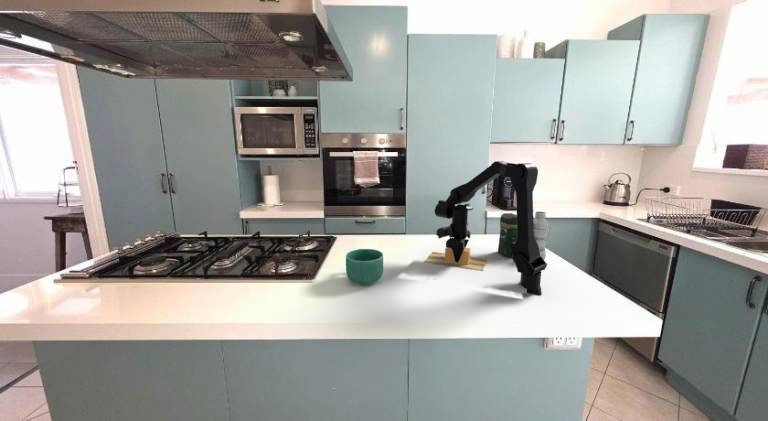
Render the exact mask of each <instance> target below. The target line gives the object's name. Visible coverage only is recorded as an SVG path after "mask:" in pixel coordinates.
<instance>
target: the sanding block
mask: <svg viewBox="0 0 768 421" xmlns="http://www.w3.org/2000/svg"><path fill="white" fill-rule="evenodd" d="M444 253H445V260H444V261H446V262H453V263H460V264H467V265H468V264H469V262H470V257H471V248H470V247H466V248H464V250H463V253H462V255H461V257H460V260H459V262H455V258H454V254H453V250H452V249H451V248H447V247H446V246H445V249H444Z"/></svg>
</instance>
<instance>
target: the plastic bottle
mask: <svg viewBox="0 0 768 421" xmlns="http://www.w3.org/2000/svg"><path fill="white" fill-rule="evenodd" d="M534 213H535V214H534V217H535V218H533V225H534V238H535V240H536V242H537V244H538V247H539V252H540V256H541V257H542V258H543V260H544V261H546V260H545V259H546V255H547V254H546V239H547V234H548V232H549V227H550V226H549V223H548V221H547V219H546V217H547V212H545V211H535V212H534Z"/></svg>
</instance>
